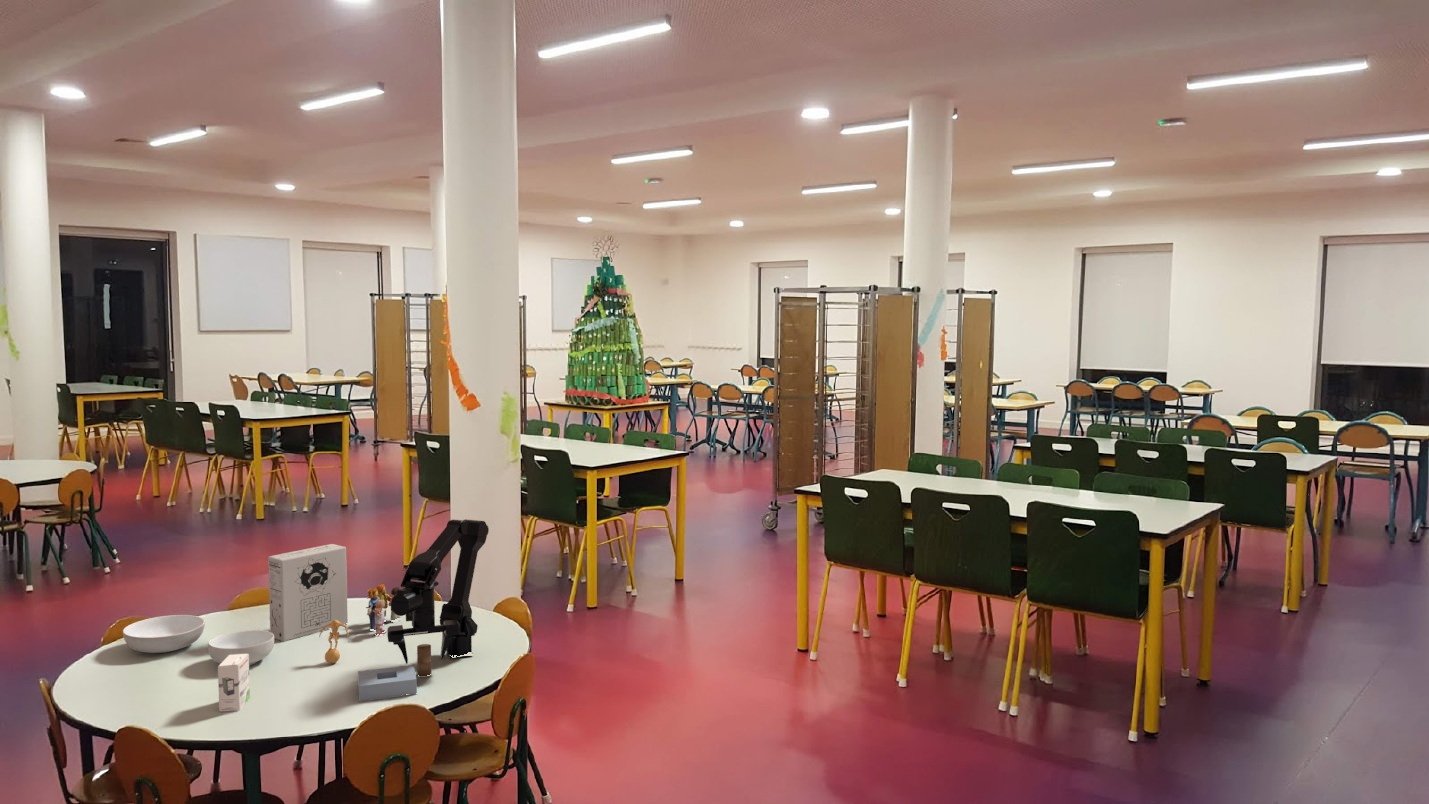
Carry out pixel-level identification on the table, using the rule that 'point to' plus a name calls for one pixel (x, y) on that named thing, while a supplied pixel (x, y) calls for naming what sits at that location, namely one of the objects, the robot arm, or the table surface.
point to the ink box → (233, 682)
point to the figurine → (334, 654)
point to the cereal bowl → (241, 645)
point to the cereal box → (307, 591)
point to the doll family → (379, 607)
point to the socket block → (386, 682)
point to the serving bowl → (163, 633)
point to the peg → (424, 659)
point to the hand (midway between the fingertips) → (424, 661)
